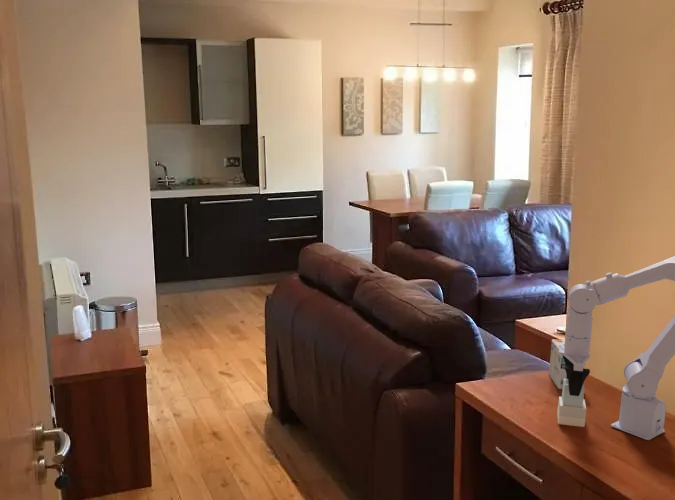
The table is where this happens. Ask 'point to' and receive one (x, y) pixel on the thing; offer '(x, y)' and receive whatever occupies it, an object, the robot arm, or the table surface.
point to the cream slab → (570, 420)
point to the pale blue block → (570, 399)
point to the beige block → (571, 410)
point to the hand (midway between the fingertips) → (573, 389)
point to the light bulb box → (557, 363)
